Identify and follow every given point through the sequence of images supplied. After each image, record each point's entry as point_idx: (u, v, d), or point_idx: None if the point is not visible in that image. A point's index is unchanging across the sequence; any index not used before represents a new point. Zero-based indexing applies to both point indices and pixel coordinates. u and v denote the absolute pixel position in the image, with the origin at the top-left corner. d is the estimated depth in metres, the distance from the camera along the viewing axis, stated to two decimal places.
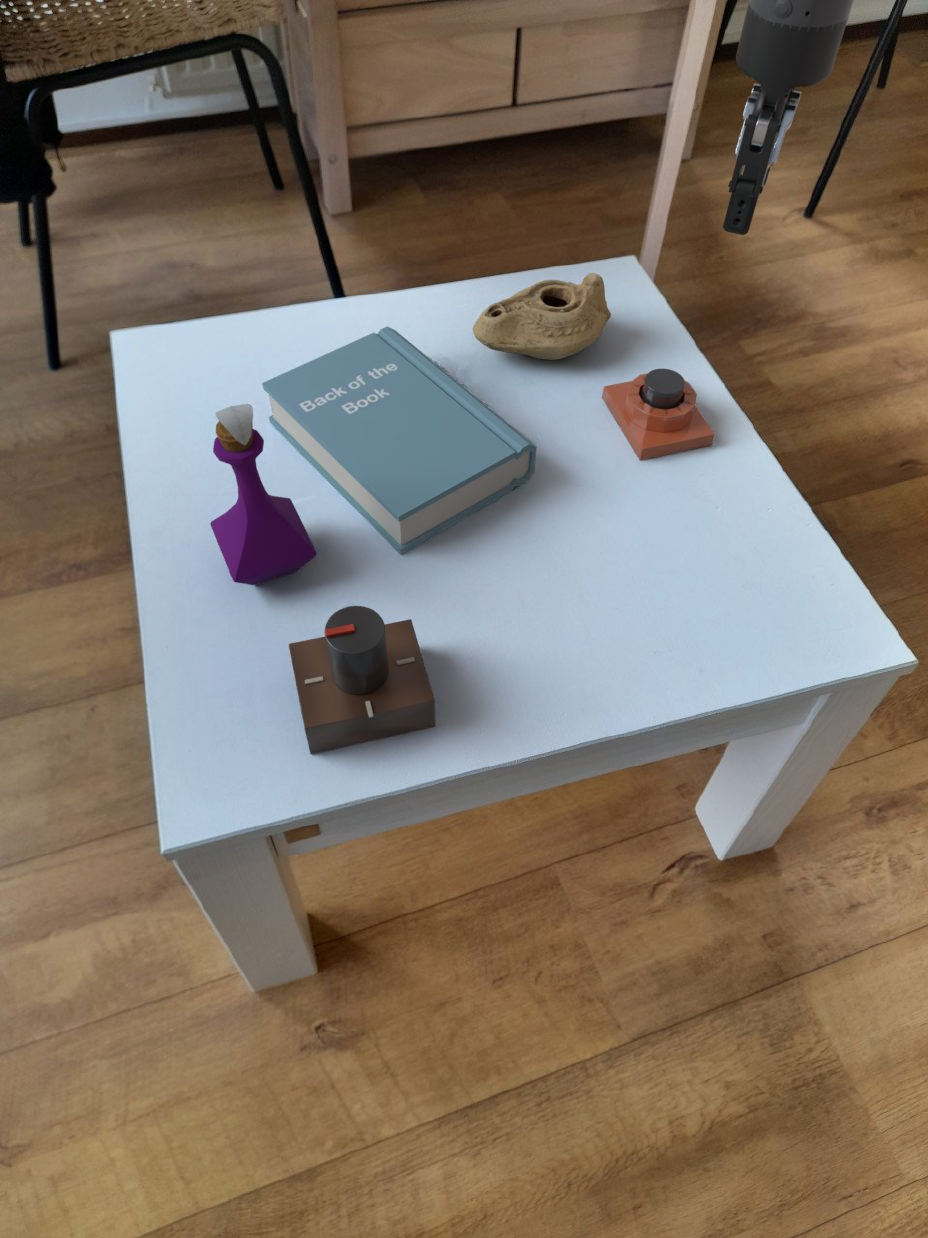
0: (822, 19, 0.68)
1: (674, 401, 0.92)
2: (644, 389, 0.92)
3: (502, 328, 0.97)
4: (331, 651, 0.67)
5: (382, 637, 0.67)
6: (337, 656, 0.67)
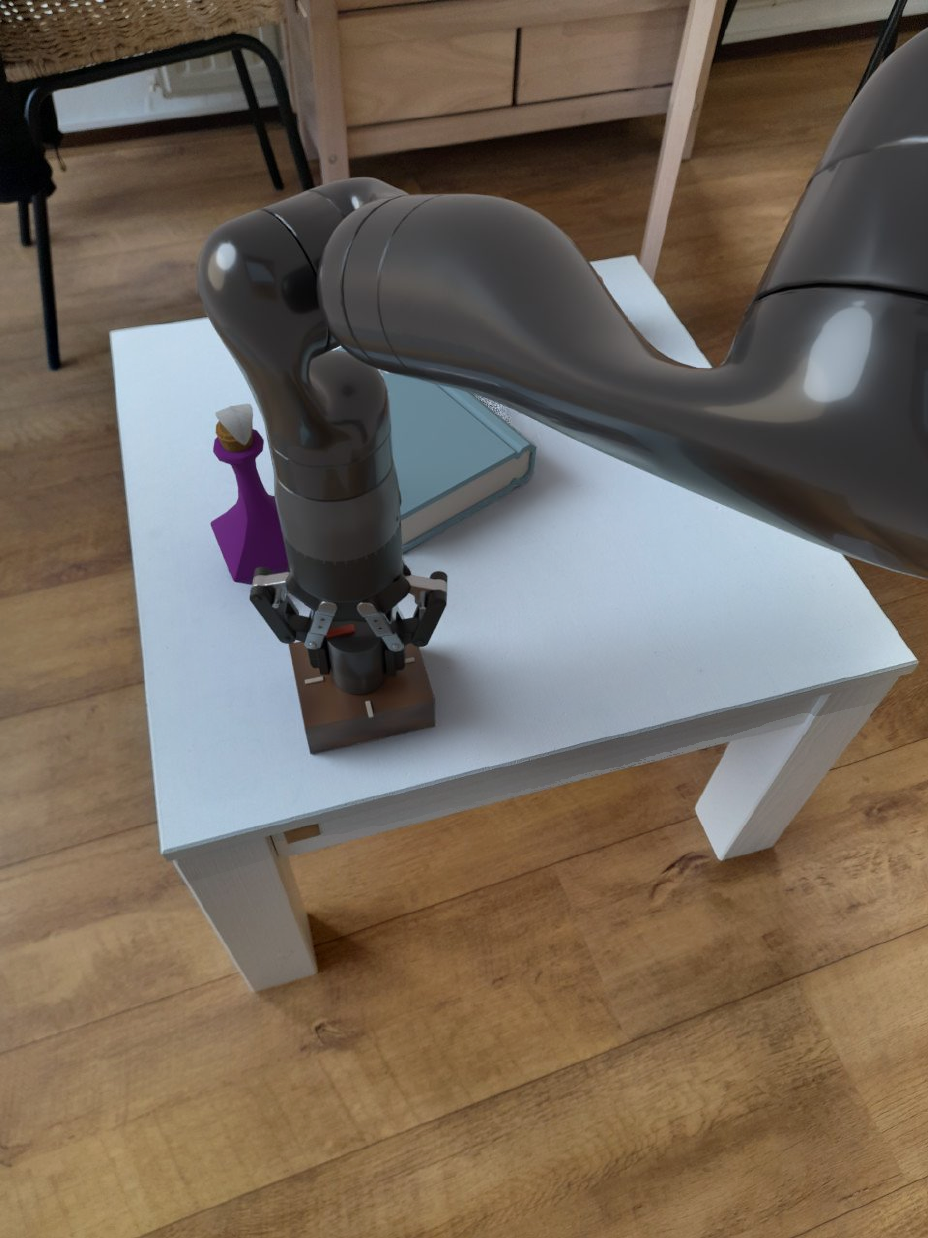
0: (284, 533, 0.56)
1: None
2: None
3: None
4: (331, 651, 0.67)
5: None
6: (337, 656, 0.67)
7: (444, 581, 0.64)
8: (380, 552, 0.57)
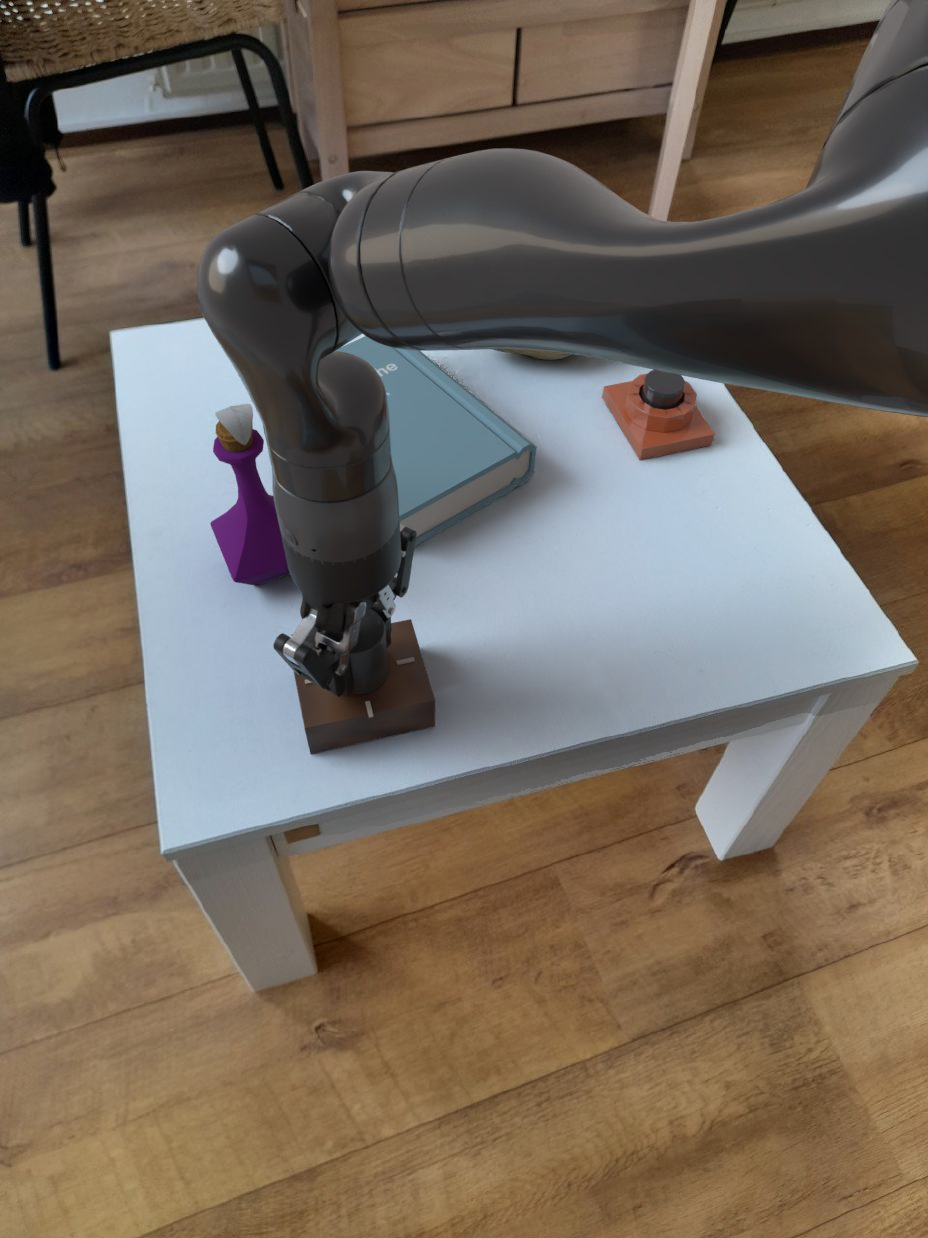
0: (335, 557, 0.55)
1: (674, 401, 0.92)
2: (644, 389, 0.92)
3: None
4: (360, 659, 0.67)
5: (377, 613, 0.68)
6: (368, 657, 0.67)
7: None
8: None
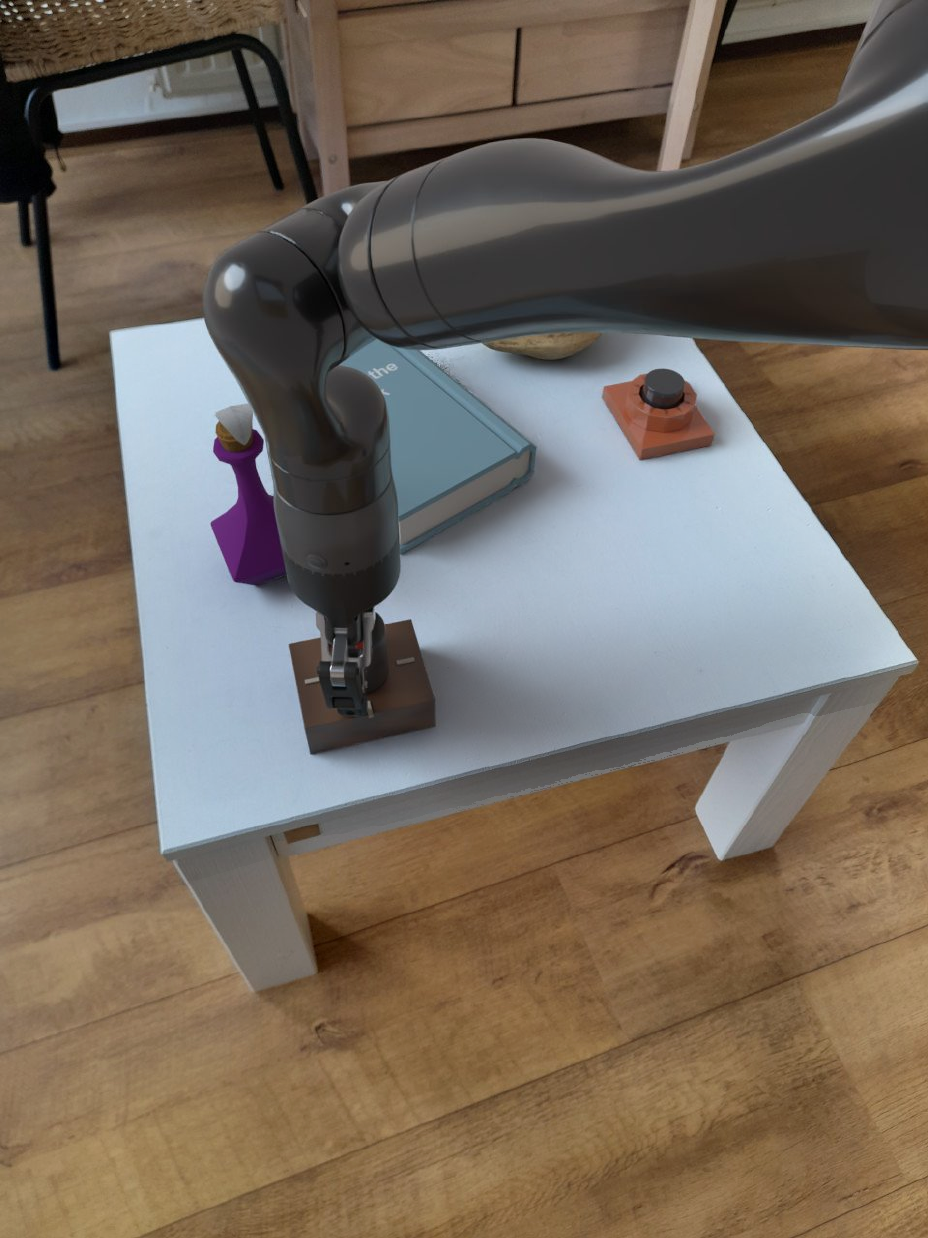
0: (367, 562, 0.56)
1: (674, 401, 0.92)
2: (644, 389, 0.92)
3: None
4: (374, 653, 0.67)
5: None
6: (380, 648, 0.67)
7: None
8: None
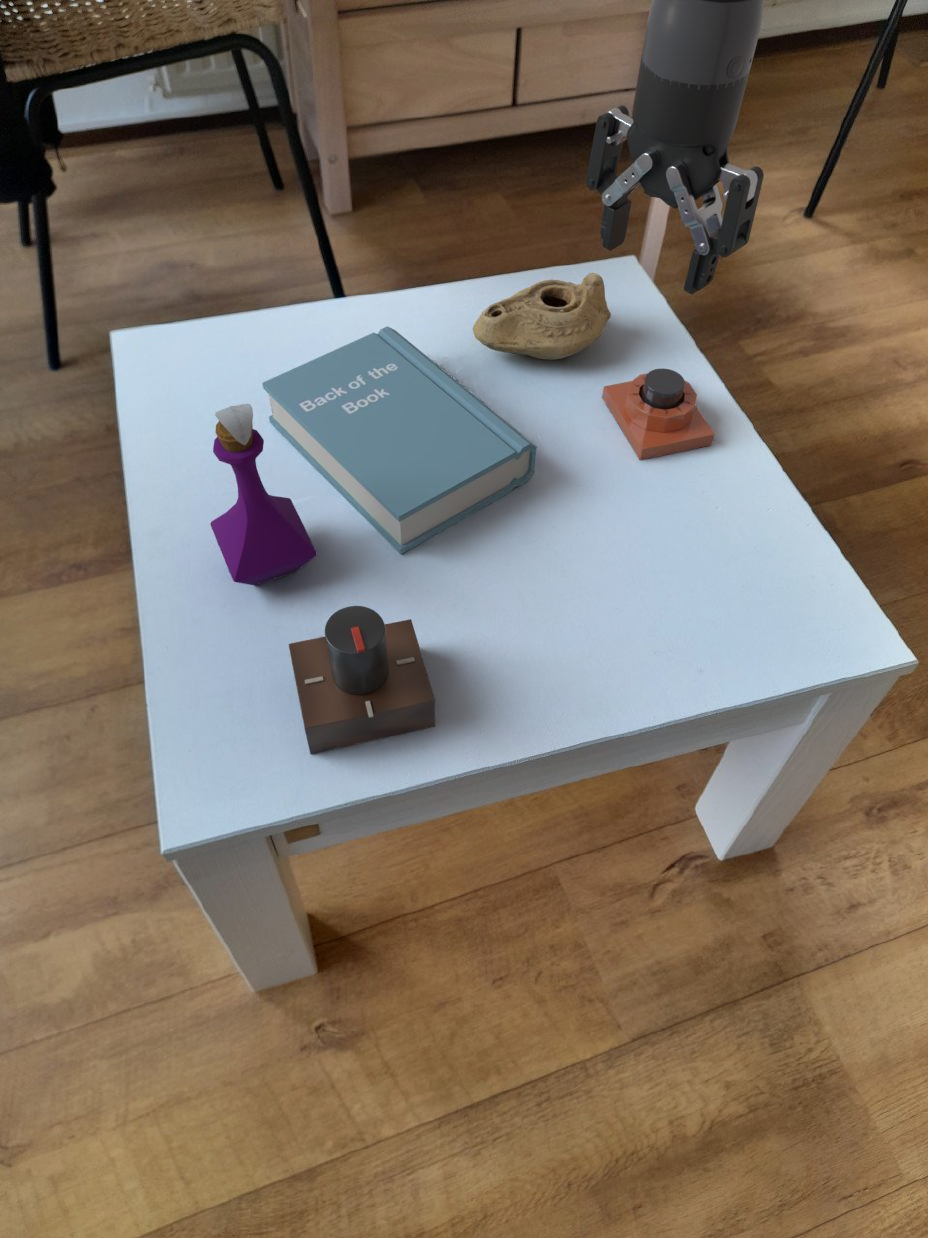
0: None
1: (674, 401, 0.92)
2: (644, 389, 0.92)
3: (502, 328, 0.97)
4: (374, 653, 0.67)
5: (364, 607, 0.69)
6: (380, 648, 0.67)
7: None
8: None
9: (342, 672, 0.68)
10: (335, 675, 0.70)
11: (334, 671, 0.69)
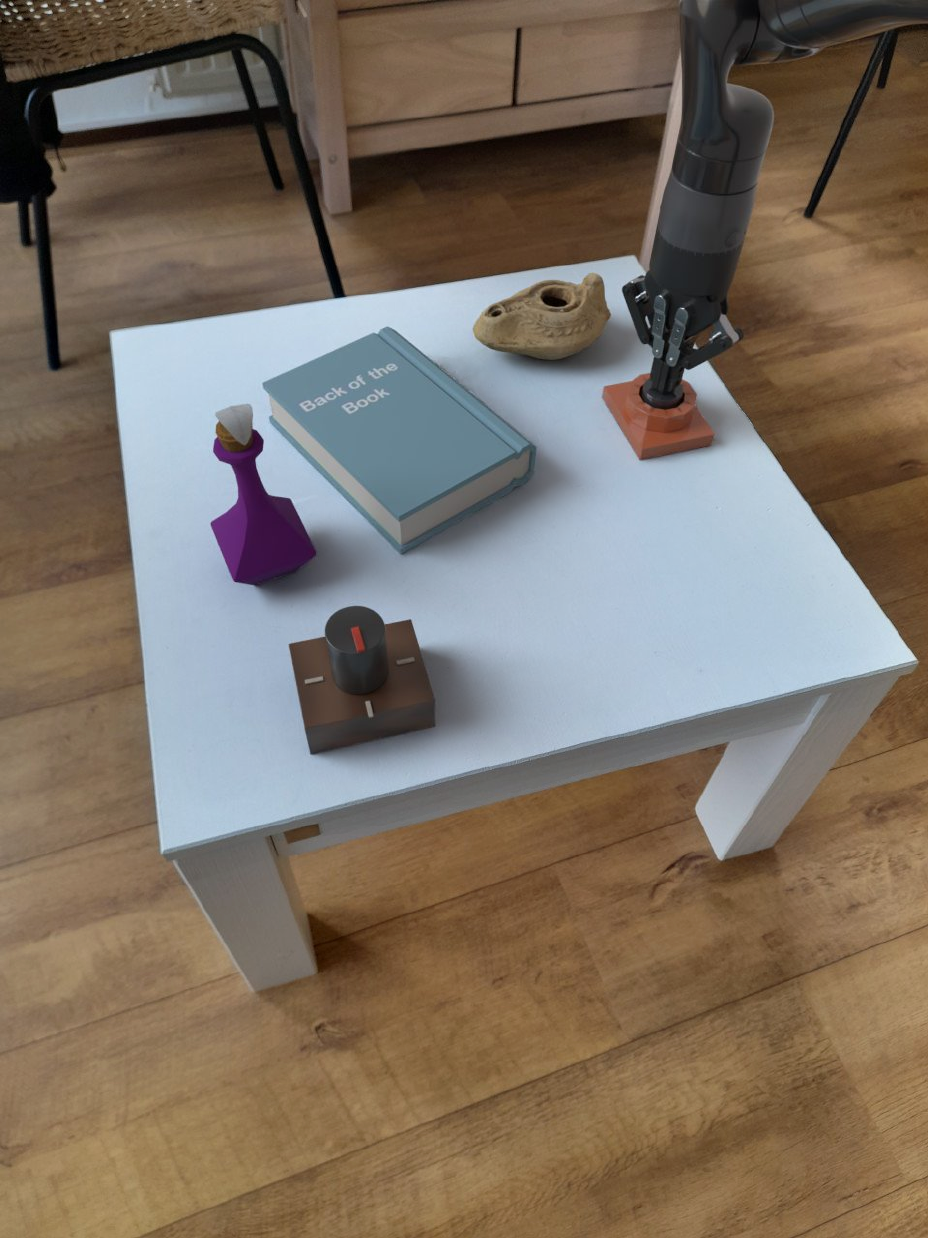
0: None
1: None
2: (643, 396, 0.93)
3: (502, 328, 0.97)
4: (374, 653, 0.67)
5: (364, 607, 0.69)
6: (380, 648, 0.67)
7: (627, 283, 0.88)
8: None
9: (342, 672, 0.68)
10: (335, 675, 0.70)
11: (334, 671, 0.69)
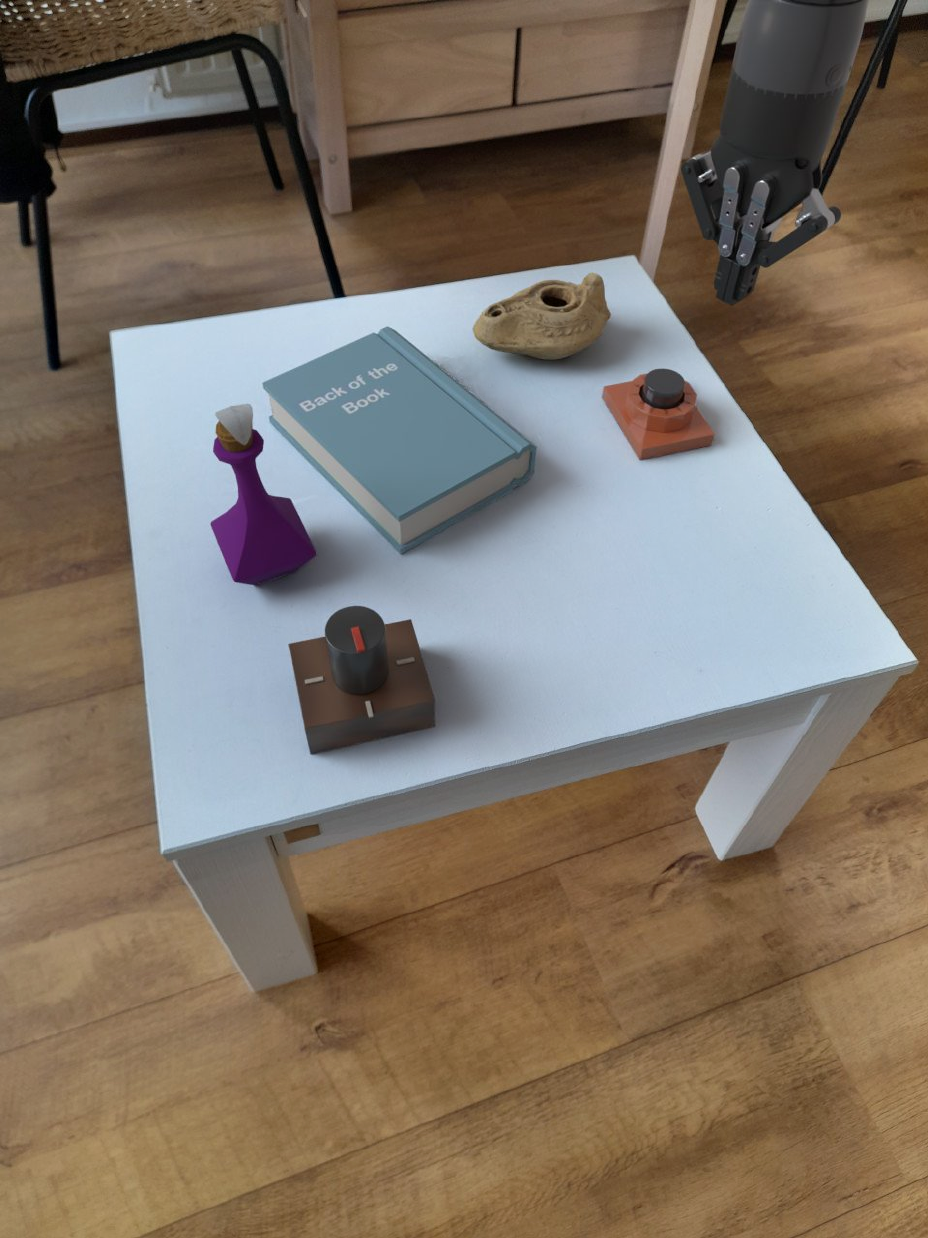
0: (851, 67, 0.60)
1: (674, 401, 0.92)
2: (644, 389, 0.92)
3: (502, 328, 0.97)
4: (374, 653, 0.67)
5: (364, 607, 0.69)
6: (380, 648, 0.67)
7: (688, 160, 0.70)
8: None
9: (342, 672, 0.68)
10: (335, 675, 0.70)
11: (334, 671, 0.69)
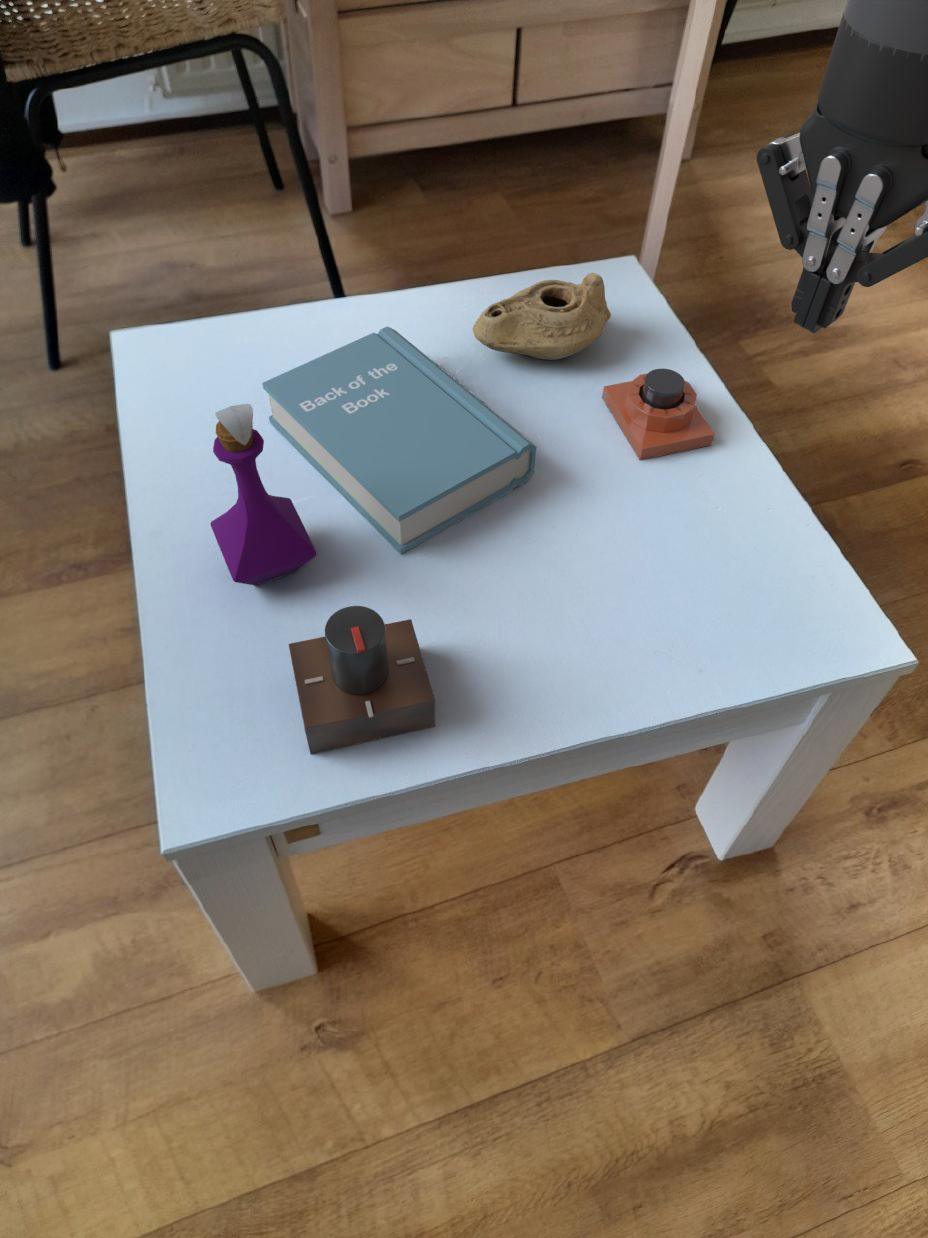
0: None
1: (674, 401, 0.92)
2: (644, 389, 0.92)
3: (502, 328, 0.97)
4: (374, 653, 0.67)
5: (364, 607, 0.69)
6: (380, 648, 0.67)
7: None
8: None
9: (342, 672, 0.68)
10: (335, 675, 0.70)
11: (334, 671, 0.69)
